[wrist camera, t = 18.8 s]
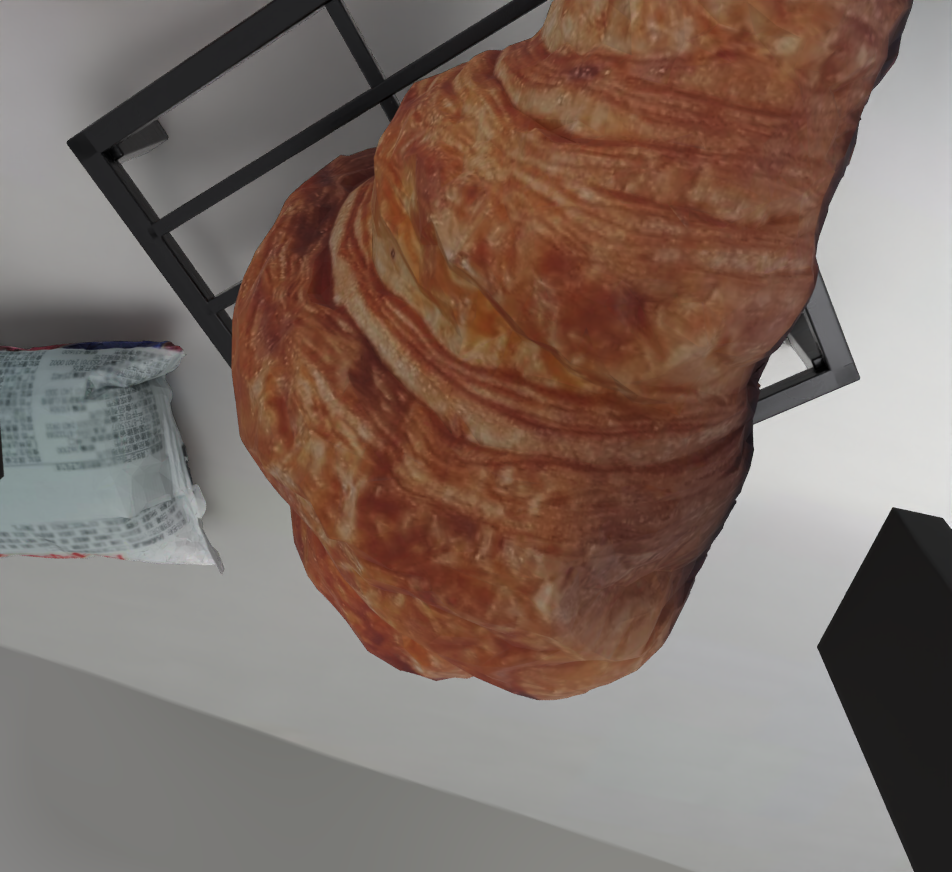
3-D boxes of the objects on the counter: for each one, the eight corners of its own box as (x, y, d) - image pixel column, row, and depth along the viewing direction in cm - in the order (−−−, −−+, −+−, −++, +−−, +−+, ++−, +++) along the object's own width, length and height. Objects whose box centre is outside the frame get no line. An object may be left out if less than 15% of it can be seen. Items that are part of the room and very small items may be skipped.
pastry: (769, 997, 13) (259, 1153, 10) (435, 622, 27) (176, 636, 24) (987, -153, 11) (391, -447, 7) (494, 83, 24) (212, 17, 21)
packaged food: (245, 532, 32) (198, 616, 27) (-52, 526, 32) (-143, 607, 28) (207, 314, 28) (145, 370, 23) (-130, 313, 28) (-251, 368, 24)
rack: (612, -205, 20) (626, -242, 17) (822, 334, 27) (861, 379, 23) (124, 123, 25) (64, 142, 22) (400, 521, 31) (385, 580, 28)
